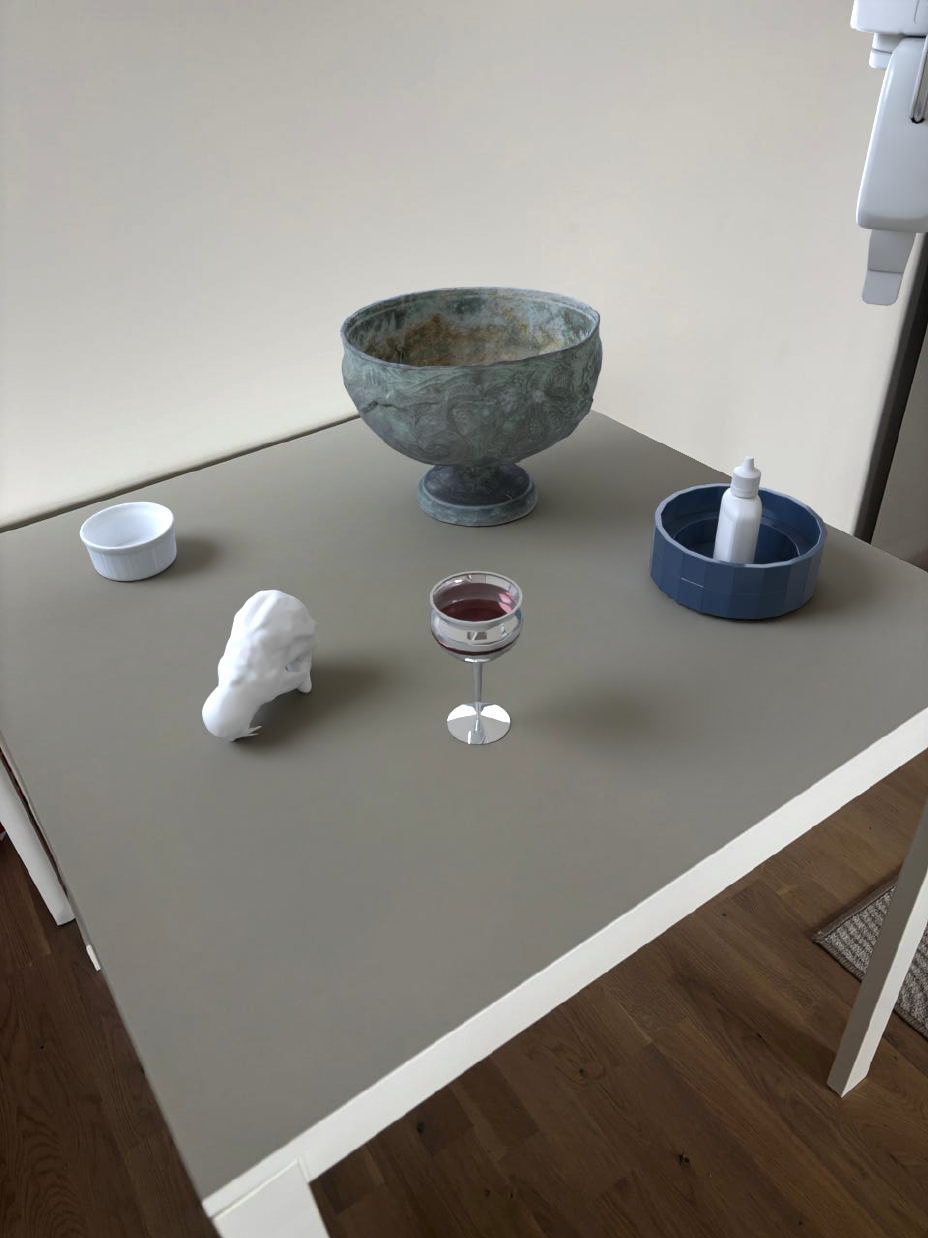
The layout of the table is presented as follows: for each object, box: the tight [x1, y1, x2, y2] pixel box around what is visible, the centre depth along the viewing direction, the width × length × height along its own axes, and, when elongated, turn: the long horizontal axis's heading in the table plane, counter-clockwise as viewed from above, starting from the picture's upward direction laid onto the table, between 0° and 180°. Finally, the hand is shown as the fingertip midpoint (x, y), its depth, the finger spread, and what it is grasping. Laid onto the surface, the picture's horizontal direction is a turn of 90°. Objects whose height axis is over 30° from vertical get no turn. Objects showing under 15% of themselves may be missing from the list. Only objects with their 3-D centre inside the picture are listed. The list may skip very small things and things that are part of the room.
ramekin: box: [79, 501, 178, 582], centre depth 96 cm, size 9×9×4 cm
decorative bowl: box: [339, 285, 604, 527], centre depth 100 cm, size 26×26×20 cm
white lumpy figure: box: [201, 589, 319, 742], centre depth 76 cm, size 6×8×12 cm
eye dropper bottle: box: [713, 455, 762, 564], centre depth 88 cm, size 4×6×12 cm
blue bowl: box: [648, 482, 828, 620], centre depth 90 cm, size 15×15×6 cm
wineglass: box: [429, 570, 524, 745], centre depth 73 cm, size 7×7×12 cm
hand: (886, 276), depth 55 cm, fingers open, 8 cm apart
